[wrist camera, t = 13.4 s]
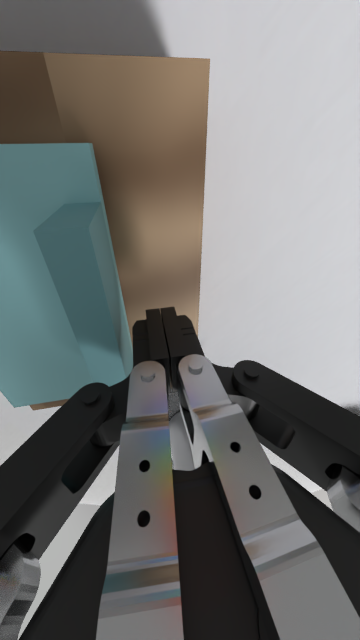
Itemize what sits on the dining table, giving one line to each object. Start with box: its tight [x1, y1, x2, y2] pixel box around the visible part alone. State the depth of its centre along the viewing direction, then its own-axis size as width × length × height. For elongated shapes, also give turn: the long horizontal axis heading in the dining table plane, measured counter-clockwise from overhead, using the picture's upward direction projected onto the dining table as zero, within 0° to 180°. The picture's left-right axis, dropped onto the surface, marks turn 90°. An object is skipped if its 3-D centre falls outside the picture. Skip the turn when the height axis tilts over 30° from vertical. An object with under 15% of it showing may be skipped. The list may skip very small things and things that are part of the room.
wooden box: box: [0, 51, 210, 410], centre depth 16 cm, size 20×14×6 cm
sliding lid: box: [0, 143, 133, 408], centre depth 11 cm, size 15×9×5 cm, turn 1°
